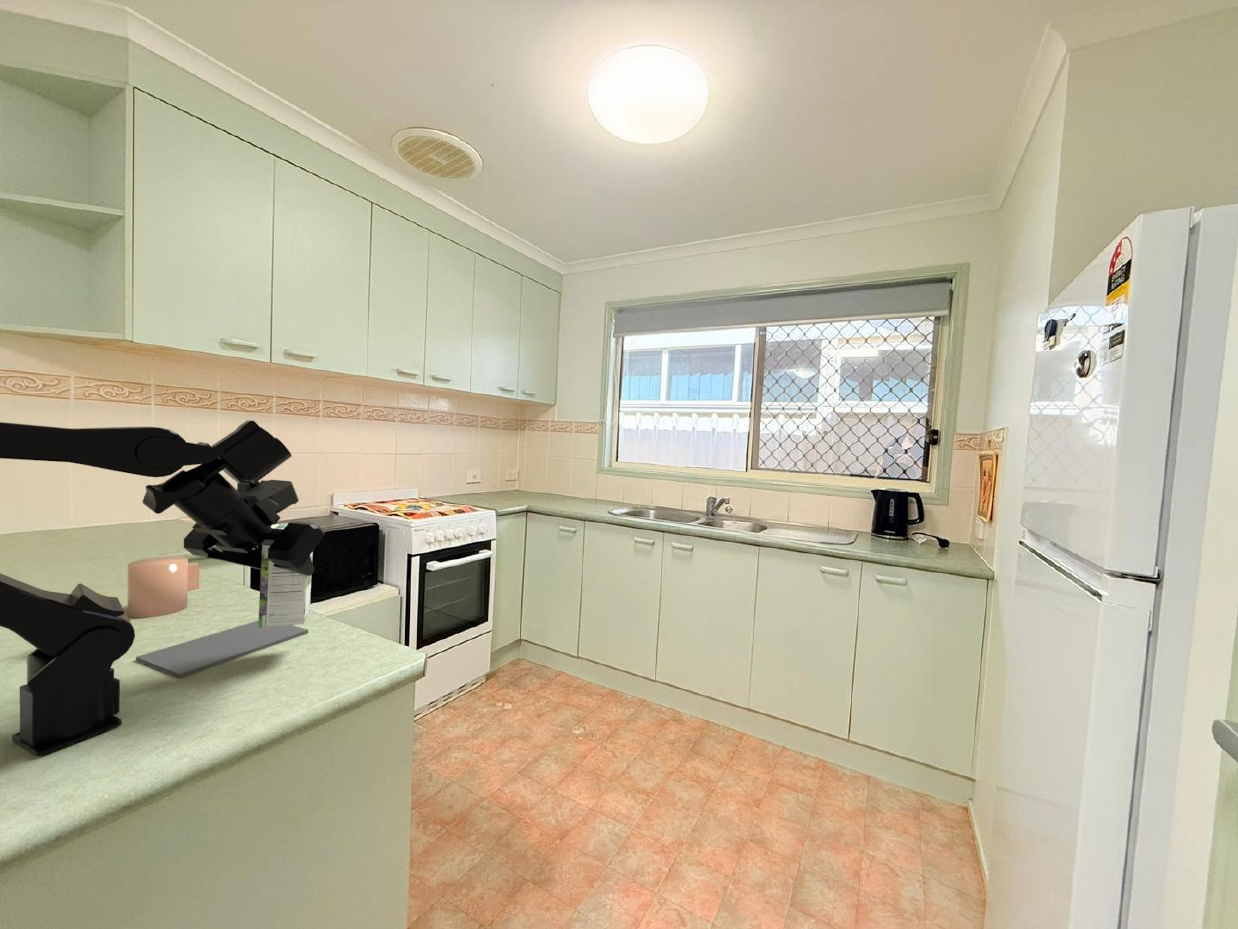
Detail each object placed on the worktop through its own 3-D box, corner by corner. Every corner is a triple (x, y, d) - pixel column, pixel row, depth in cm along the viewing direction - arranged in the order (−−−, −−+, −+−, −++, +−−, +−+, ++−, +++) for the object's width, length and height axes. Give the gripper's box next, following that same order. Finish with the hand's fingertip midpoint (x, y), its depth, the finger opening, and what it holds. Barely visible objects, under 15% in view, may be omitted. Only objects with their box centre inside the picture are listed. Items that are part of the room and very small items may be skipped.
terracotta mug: (142, 621, 84) (142, 569, 84) (117, 612, 87) (118, 563, 87) (209, 604, 93) (210, 558, 93) (185, 597, 96) (185, 552, 96)
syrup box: (267, 615, 75) (269, 523, 75) (311, 612, 78) (314, 522, 77) (257, 629, 70) (260, 530, 70) (305, 625, 73) (308, 529, 72)
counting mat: (179, 678, 66) (180, 674, 66) (135, 660, 70) (135, 656, 70) (308, 632, 83) (308, 630, 83) (266, 620, 87) (266, 618, 87)
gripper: (316, 466, 66) (370, 533, 77) (207, 458, 70) (274, 522, 81) (260, 532, 59) (329, 595, 70) (142, 519, 63) (226, 581, 74)
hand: (289, 570), depth 74 cm, fingers closed on syrup box, 8 cm apart
